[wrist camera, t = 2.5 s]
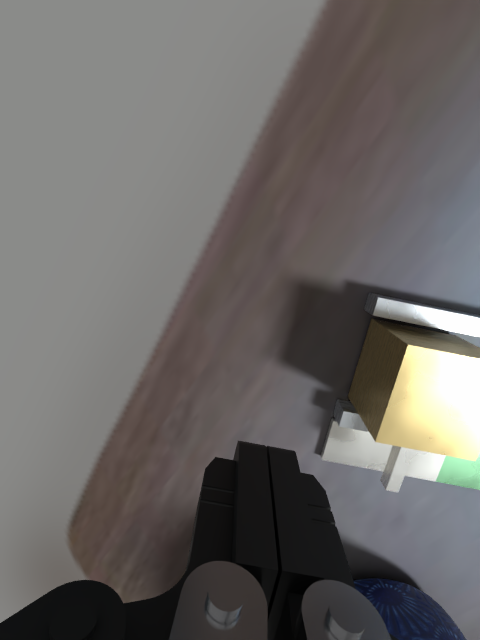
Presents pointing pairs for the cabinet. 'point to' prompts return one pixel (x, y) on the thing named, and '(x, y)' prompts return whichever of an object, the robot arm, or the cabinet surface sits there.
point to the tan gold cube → (417, 394)
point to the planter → (408, 611)
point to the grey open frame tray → (362, 451)
